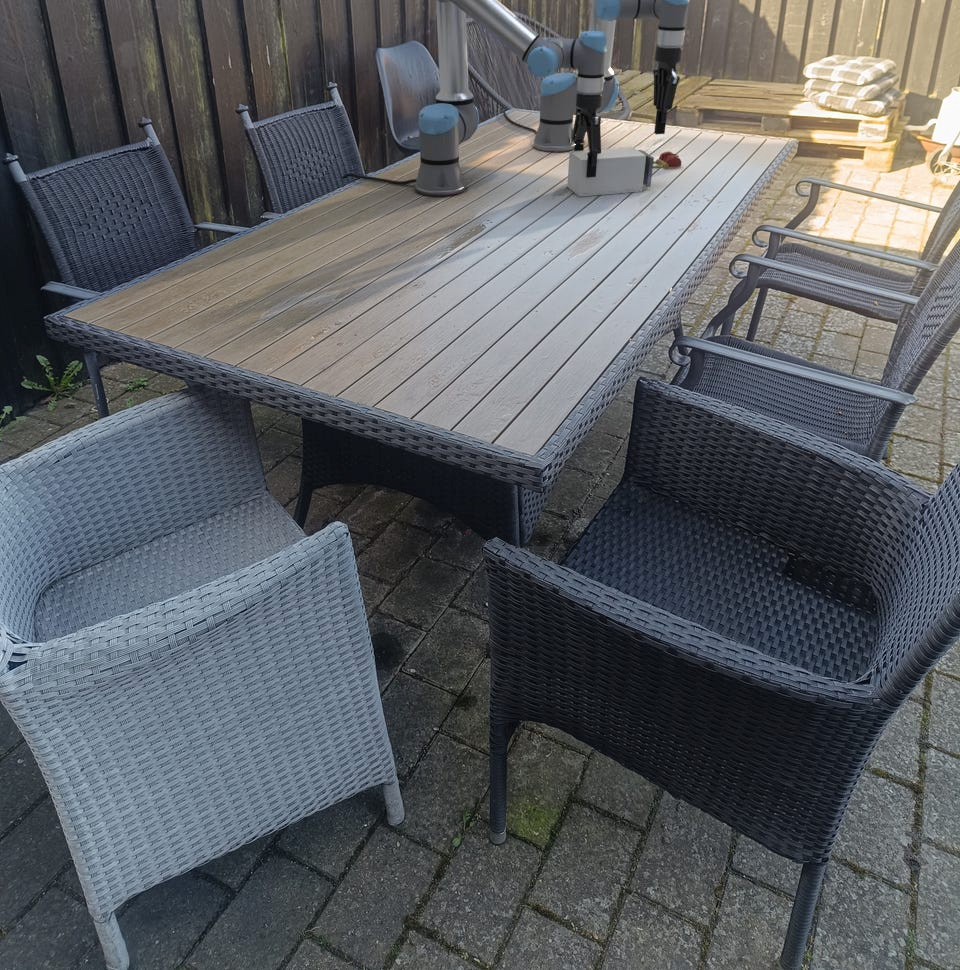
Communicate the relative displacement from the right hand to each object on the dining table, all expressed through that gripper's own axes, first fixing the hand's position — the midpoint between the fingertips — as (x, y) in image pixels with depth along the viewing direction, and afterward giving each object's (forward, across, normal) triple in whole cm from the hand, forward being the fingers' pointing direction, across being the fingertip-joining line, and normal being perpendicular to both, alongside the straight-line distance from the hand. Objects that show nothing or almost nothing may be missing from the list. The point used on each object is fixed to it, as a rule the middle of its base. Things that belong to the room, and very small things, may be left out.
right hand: (659, 133), depth 254 cm
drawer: (+14, 0, +10) cm, 17 cm away
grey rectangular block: (+15, 0, +16) cm, 22 cm away
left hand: (+10, 0, +23) cm, 25 cm away
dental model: (+15, +19, -14) cm, 28 cm away
